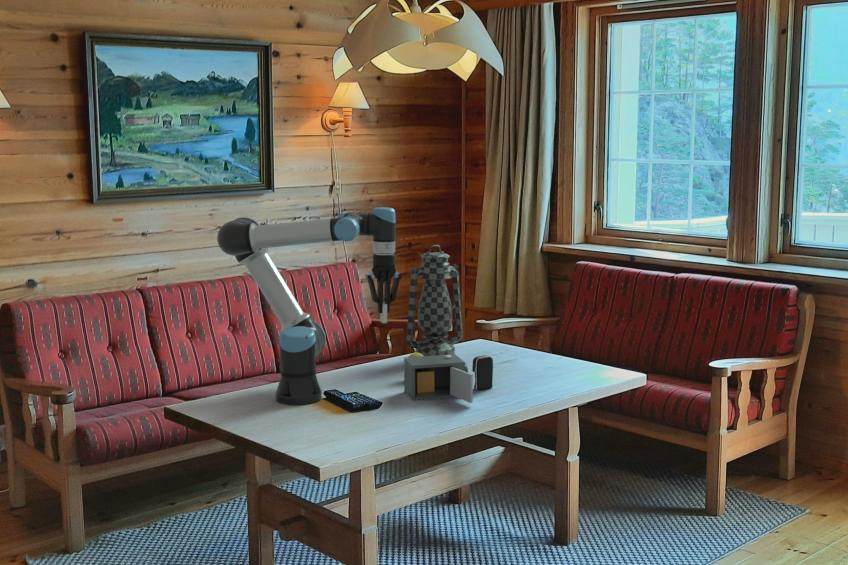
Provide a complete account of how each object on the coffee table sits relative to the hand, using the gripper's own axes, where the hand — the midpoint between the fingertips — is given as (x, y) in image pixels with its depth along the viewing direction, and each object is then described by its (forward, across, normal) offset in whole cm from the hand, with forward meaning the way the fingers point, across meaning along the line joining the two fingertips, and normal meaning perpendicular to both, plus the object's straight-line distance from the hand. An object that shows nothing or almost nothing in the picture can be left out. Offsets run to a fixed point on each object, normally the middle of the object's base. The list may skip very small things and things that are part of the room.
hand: (383, 322), depth 346 cm
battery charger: (+23, +32, -12) cm, 42 cm away
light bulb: (+24, +16, +8) cm, 30 cm away
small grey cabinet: (+23, +15, -12) cm, 30 cm away
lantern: (+24, +33, +30) cm, 51 cm away
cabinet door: (+22, +18, -25) cm, 38 cm away
